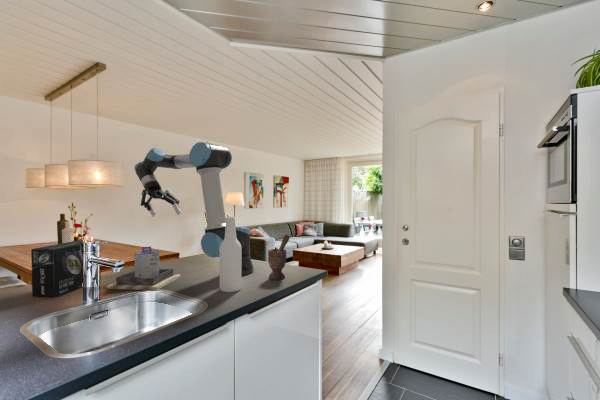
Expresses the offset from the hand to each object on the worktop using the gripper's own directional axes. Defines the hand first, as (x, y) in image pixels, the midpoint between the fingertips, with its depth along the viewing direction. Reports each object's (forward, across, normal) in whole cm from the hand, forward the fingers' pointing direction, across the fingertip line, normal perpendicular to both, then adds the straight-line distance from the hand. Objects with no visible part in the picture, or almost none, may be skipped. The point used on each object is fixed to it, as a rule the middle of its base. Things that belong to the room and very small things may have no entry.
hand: (167, 214), depth 149 cm
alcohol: (+55, +1, +13) cm, 56 cm away
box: (+15, +38, -28) cm, 50 cm away
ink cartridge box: (+26, +15, -14) cm, 34 cm away
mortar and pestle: (+58, -25, +16) cm, 65 cm away
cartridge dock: (+27, +16, -15) cm, 35 cm away
